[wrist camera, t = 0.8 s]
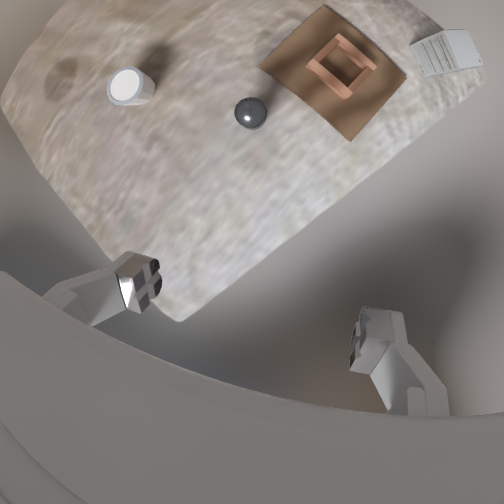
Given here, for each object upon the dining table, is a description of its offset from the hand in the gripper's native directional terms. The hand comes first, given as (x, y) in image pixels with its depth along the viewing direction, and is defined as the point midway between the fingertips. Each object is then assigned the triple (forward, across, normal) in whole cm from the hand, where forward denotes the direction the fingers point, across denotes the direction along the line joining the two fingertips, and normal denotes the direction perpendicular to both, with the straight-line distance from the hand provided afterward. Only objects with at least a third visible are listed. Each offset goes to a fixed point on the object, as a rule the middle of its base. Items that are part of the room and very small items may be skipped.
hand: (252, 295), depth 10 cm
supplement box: (+49, -20, -23) cm, 58 cm away
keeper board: (+43, -2, -15) cm, 45 cm away
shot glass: (+34, +32, -9) cm, 47 cm away
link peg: (+38, +12, -4) cm, 40 cm away
